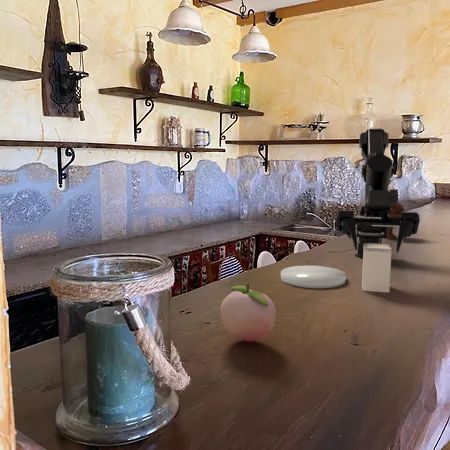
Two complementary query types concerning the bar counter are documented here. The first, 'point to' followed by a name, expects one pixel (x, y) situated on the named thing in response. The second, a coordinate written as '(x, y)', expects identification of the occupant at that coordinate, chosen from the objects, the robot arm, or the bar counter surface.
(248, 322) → the decorative fruit
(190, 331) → the bar counter surface
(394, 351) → the bar counter surface
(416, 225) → the robot arm
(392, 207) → the ice cream bowl
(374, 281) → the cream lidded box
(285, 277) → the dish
